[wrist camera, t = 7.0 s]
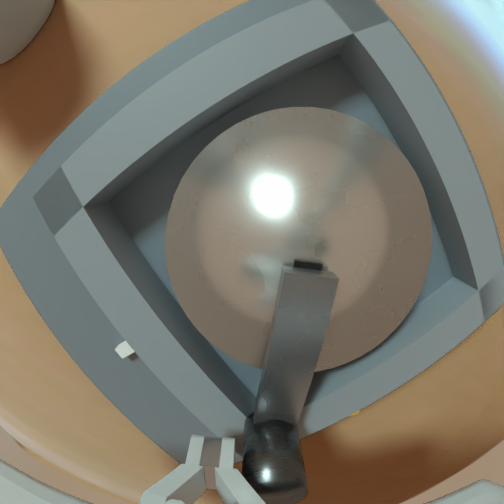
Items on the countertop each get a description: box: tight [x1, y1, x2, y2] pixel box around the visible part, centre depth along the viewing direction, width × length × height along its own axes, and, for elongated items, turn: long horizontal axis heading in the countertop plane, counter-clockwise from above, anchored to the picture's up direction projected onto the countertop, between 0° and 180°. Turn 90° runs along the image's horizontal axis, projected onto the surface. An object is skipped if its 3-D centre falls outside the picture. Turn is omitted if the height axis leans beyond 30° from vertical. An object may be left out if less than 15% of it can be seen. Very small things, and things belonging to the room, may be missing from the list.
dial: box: [165, 107, 432, 504], centre depth 10 cm, size 14×10×6 cm
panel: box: [0, 0, 504, 464], centre depth 12 cm, size 24×21×3 cm
